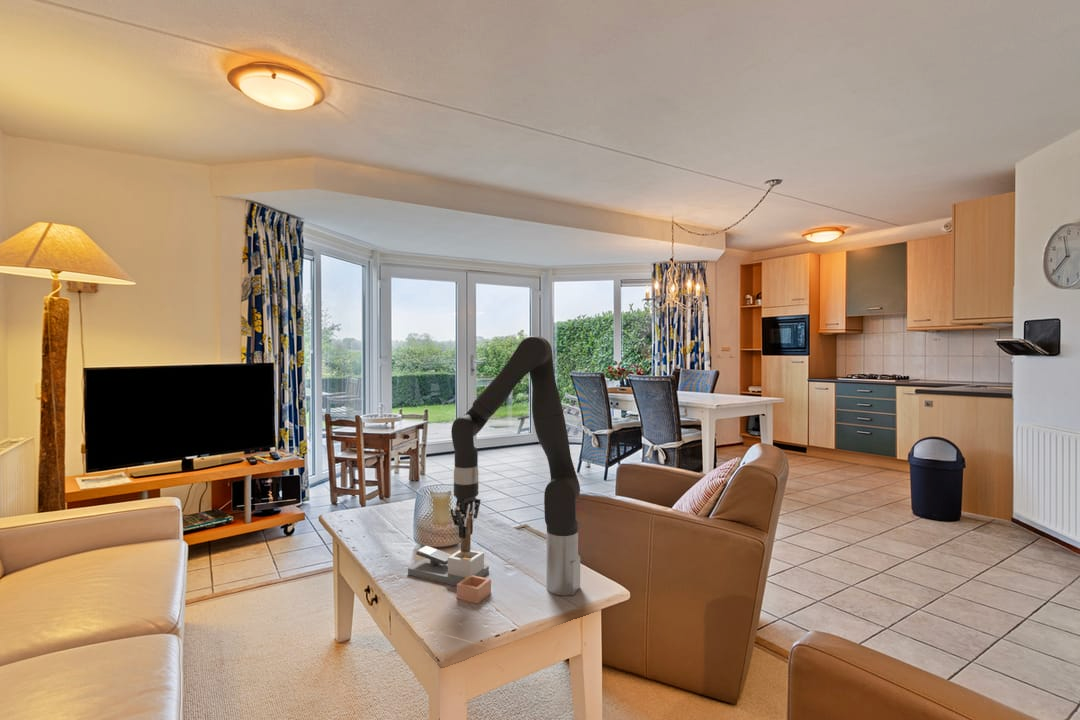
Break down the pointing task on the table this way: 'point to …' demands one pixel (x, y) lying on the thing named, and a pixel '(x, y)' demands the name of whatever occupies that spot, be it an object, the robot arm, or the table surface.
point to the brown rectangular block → (467, 536)
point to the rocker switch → (434, 554)
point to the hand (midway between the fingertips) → (465, 535)
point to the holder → (473, 588)
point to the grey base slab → (451, 568)
